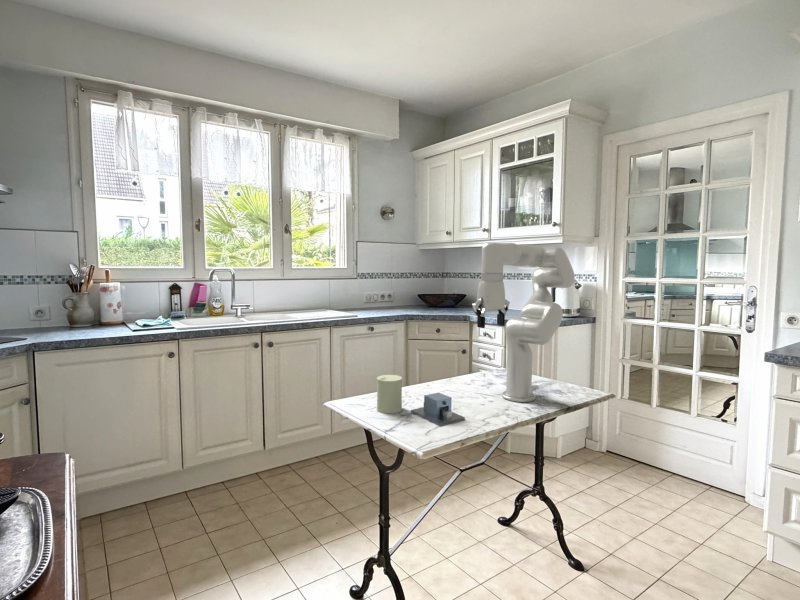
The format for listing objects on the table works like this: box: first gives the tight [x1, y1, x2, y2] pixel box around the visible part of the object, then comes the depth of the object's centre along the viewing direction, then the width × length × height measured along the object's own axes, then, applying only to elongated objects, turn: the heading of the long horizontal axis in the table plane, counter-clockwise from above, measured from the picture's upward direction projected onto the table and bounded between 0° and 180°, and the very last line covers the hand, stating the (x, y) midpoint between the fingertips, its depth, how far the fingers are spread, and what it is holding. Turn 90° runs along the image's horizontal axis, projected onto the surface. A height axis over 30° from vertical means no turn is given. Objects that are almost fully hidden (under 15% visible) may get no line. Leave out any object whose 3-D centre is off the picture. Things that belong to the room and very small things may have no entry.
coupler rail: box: [410, 406, 466, 427], centre depth 155 cm, size 11×16×3 cm
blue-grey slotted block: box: [423, 392, 452, 418], centre depth 155 cm, size 6×7×6 cm
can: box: [376, 374, 403, 414], centre depth 162 cm, size 9×9×12 cm
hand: (491, 326), depth 160 cm, fingers open, 9 cm apart
